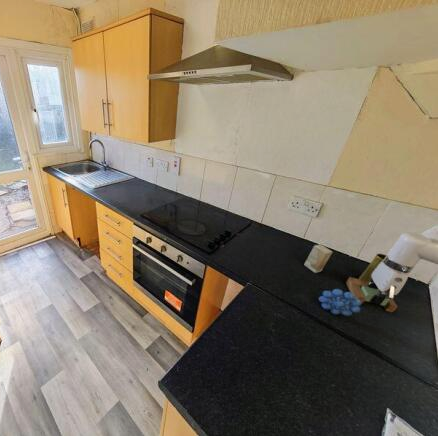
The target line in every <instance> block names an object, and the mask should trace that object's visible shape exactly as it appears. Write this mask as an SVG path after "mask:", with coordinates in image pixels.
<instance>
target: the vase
mask: <svg viewBox="0 0 438 436" xmlns="http://www.w3.org/2000/svg"><path fill="white" fill-rule="evenodd" d="M386 255H387V254H384V253H376V254H375V256H374V257H373V259H372V261H370V263H369V264H368V265H367V267H366V268H365V270H364V271H363V272H362V274H361V275H360V276H359V277H358V279H360V280H364V281H368V282H370V281H371V275H372V272H373V271H374V270H375V269H376V267H377V266H378V265H379V264H380V263H381V262H382V261H383V260H384V258H385V257H386Z"/></svg>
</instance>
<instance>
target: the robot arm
mask: <svg viewBox="0 0 438 436" xmlns="http://www.w3.org/2000/svg"><path fill="white" fill-rule="evenodd" d="M385 255H386V257H385V258H384V260H383V261H382V262H381V263H380V264H379V265H378V266H377V267H376V269H375V270H374V271H373V272H372V275H371V281H370V282H369V284H370V285H368V286H367V287H370V288H374V289H378V288H379V291H378V293H377V295H374V296H373V298H372V299H371V300H370V302H369V303H372V304H375V305H379V306H381V305H380V304H381V303H382V302H383V301H384V300H385V299H393V300H394V296H397V295H399V293H400V292H401V290H402V289H403V287H404V286H405V285H406V283H407V281H408V278H409V276H410V275H409V274H410V273H411V271H412V270H414V268H415V266H417V264H418V263H419V261H420V260H424V261H427V262H429V263H433V264H435V265H438V224H437V225H435V226H433V227H431V228H429V229H427V230H424V231H423V232H422V233H417V232H410V231H406V232H403V233H402V234H401V235H399V237H398V238H397V240H396V241H395V242H394V244H393V245H392V247H391V248H390V250H388V252H387V254H385ZM382 292H385V294H381V293H382Z"/></svg>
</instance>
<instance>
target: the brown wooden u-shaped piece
mask: <svg viewBox="0 0 438 436" xmlns="http://www.w3.org/2000/svg"><path fill="white" fill-rule="evenodd" d="M345 284H346V286H347V289H348V290H349V292H351V293H353V294H354V296H355V297H354V298H356V299H359V300H360V301H361V303H362V304H364V302H365V301H364V300H365V299H366V297H365V296H364V294H363V292H362V290H361V288H362V286H366V287H367V286H368V285H370V284H369V282H368V281H364V280H360V279H359V278H355V277H351V276H349V277H348V278H347V280H346V282H345ZM378 290H379V288H378ZM382 307H383V309H384V310H385V311H386V312H389V313H394V312H395V310H397V308H398V305H397V304H396V302H395V301H394V298H393V299H389V301H388V303H387V304H386V305H385V306H383V305H382Z"/></svg>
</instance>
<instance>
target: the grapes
mask: <svg viewBox="0 0 438 436" xmlns="http://www.w3.org/2000/svg"><path fill="white" fill-rule="evenodd" d="M354 297H355V296H354V294H353V293H351V292H350V291H346V292H344V291H343V290H342V289H339V288H335V289H333V290H332V291H331V290H323V292H322V295H321V296H319V297H318V301H319V302H320V303H321V307H322V309H324V310H329V311H330V313H331V314H332V315H340V314H342V315H343V316H345V317H349V316H351V315H353V313H355V314H356V313H360V312H361V307H360V306H361V305H363V303H361V301H360V300H359V299H356V298H354Z"/></svg>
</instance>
